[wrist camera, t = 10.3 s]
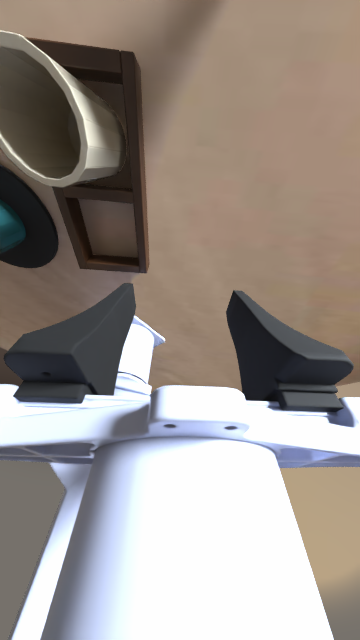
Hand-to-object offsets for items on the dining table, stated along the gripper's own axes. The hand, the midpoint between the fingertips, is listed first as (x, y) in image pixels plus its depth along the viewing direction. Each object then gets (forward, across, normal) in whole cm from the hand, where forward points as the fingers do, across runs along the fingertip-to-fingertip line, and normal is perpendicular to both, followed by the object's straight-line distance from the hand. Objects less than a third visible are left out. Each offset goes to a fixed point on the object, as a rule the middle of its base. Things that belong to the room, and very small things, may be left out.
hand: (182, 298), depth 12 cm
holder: (+9, +7, -5) cm, 13 cm away
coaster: (+9, +18, -2) cm, 21 cm away
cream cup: (+9, +7, -8) cm, 14 cm away
